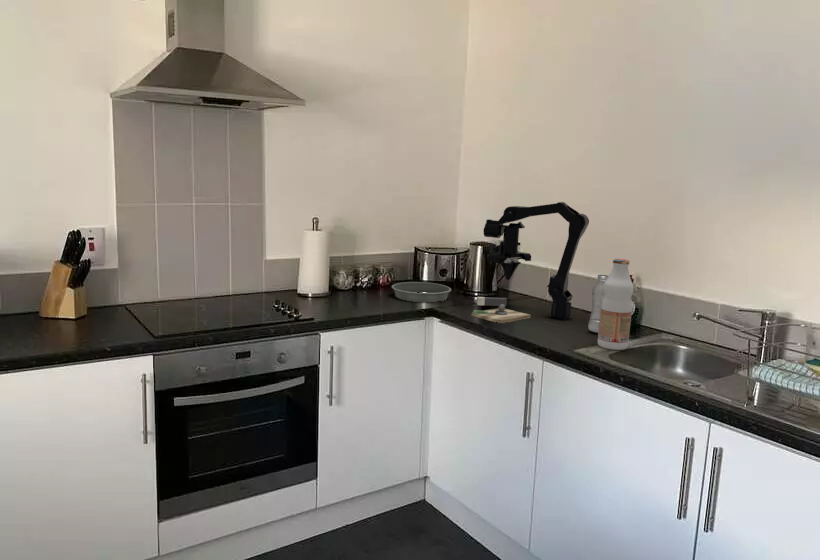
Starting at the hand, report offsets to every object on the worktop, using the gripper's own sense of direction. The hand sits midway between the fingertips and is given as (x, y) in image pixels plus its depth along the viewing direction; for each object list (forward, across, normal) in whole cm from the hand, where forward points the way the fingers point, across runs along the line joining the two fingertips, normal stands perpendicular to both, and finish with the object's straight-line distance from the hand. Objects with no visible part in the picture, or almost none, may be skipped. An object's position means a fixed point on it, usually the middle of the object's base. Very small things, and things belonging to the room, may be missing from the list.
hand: (507, 279), depth 264 cm
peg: (+9, +13, +6) cm, 17 cm away
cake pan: (+12, +15, -34) cm, 39 cm away
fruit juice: (+12, +7, +55) cm, 57 cm away
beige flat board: (+12, +11, +7) cm, 17 cm away
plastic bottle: (+12, -4, +41) cm, 43 cm away
